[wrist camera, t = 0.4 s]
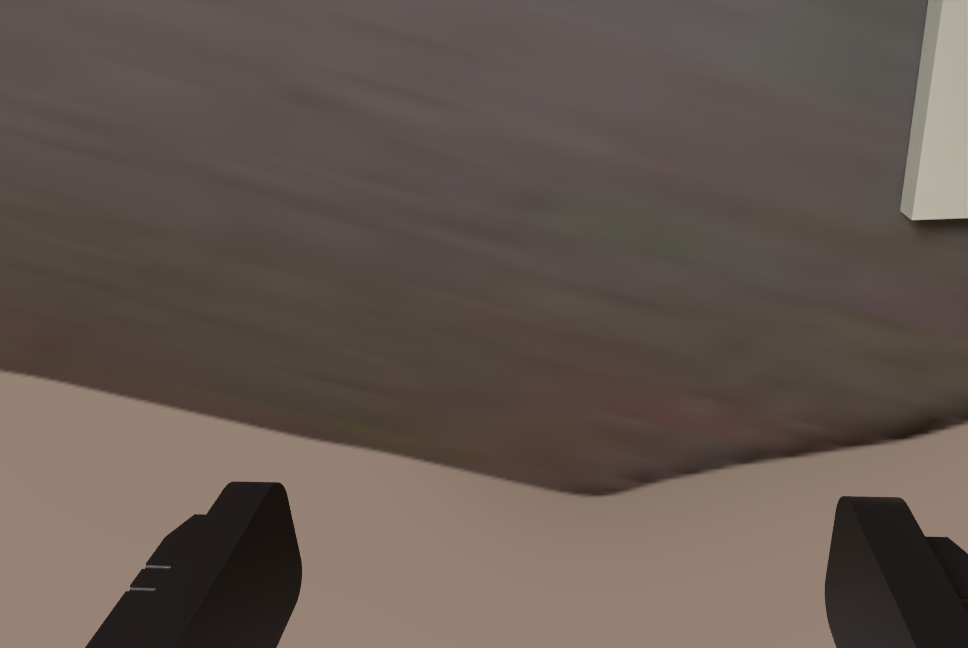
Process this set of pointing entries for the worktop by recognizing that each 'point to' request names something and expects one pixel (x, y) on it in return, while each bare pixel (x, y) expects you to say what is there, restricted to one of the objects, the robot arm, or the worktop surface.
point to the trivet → (940, 119)
